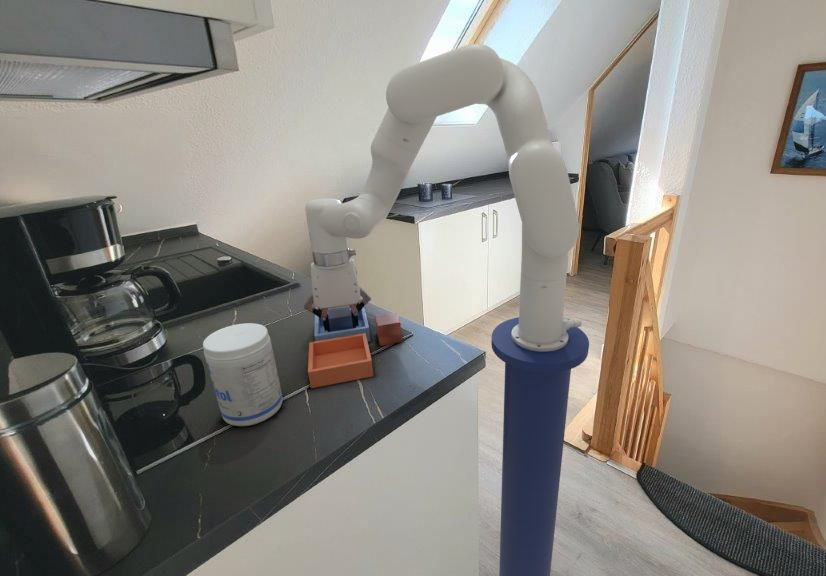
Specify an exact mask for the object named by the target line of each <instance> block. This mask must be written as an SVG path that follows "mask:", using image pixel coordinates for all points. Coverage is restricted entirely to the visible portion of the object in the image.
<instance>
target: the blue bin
mask: <svg viewBox="0 0 826 576" xmlns="http://www.w3.org/2000/svg"><path fill="white" fill-rule="evenodd" d="M327 314H328V312H327ZM358 323H359V326H356V328H353V329H347V330H340V331H334V332H328V331H324V325H323V320H321V318H320V317H318V316H316V315H315V314H314V331H313V332H314V334H313V335H314V342H315V341H321V340H327V339H333V338H339V337H345V336H351V335H358V334H364V333H366V337H367V342H368V343H369V342H371V334H370V333H371V332H370V326H369V322H368V318H367V314H366V309H365V306H364V307H363V308H362V310H361V311H360V312H359V314H358Z"/></svg>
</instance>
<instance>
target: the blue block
mask: <svg viewBox="0 0 826 576" xmlns="http://www.w3.org/2000/svg"><path fill="white" fill-rule="evenodd" d="M328 319H329V325H330V331H331V332H334V331H340V330H347V329H353V323H352V315H351V308H350V306H347V307H346V306H344V307H339V308H338V307H337V308H330V309H328Z"/></svg>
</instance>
